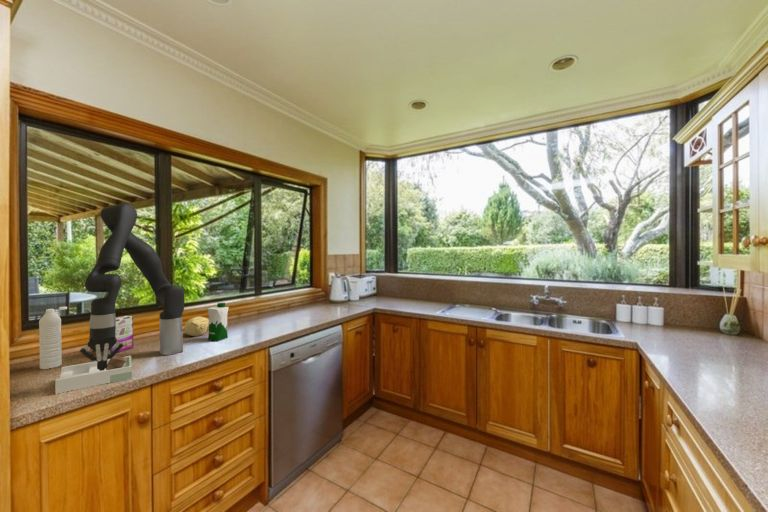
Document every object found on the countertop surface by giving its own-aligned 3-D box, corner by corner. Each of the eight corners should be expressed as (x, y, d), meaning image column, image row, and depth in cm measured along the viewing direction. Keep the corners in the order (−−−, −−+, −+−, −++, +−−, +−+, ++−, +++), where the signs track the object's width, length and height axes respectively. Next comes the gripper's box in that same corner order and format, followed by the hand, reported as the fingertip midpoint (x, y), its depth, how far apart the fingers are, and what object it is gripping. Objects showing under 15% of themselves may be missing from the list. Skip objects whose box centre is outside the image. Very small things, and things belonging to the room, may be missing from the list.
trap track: (131, 367, 135) (131, 355, 135) (132, 378, 123) (131, 366, 123) (62, 379, 121) (61, 367, 121) (55, 394, 110) (55, 380, 110)
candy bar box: (125, 346, 160) (125, 315, 160) (133, 347, 159) (133, 315, 159) (102, 354, 149) (101, 320, 149) (110, 355, 148) (110, 321, 148)
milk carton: (230, 337, 179) (230, 303, 178) (216, 342, 171) (216, 306, 170) (219, 335, 182) (219, 301, 181) (205, 340, 174) (205, 304, 173)
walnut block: (119, 368, 126) (126, 357, 127) (119, 372, 122) (125, 360, 123) (106, 365, 123) (113, 354, 124) (105, 369, 120) (112, 358, 121)
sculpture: (198, 338, 177) (198, 319, 176) (179, 336, 179) (179, 318, 178) (212, 332, 188) (212, 315, 188) (194, 331, 190) (194, 314, 190)
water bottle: (44, 370, 129) (43, 311, 128) (36, 368, 132) (35, 309, 131) (71, 363, 137) (71, 307, 137) (63, 361, 140) (62, 305, 139)
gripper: (125, 321, 128) (124, 363, 128) (80, 325, 119) (79, 370, 119) (125, 325, 122) (124, 369, 122) (78, 329, 113) (76, 376, 114)
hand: (101, 369), depth 121 cm, fingers closed
